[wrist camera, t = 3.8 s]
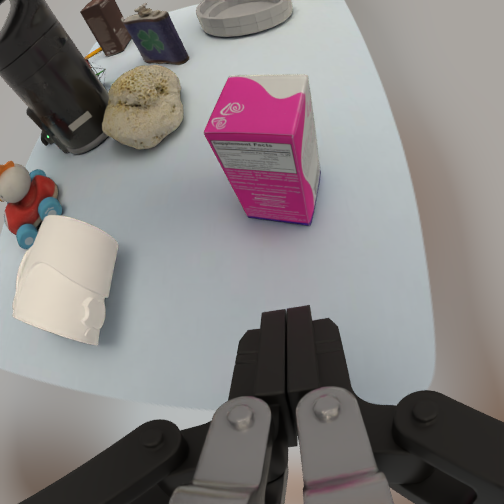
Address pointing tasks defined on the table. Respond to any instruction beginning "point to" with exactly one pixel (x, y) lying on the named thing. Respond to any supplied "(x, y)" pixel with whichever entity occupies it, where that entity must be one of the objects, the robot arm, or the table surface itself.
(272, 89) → the supplement box
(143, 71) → the decorative item
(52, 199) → the toy car
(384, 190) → the table surface
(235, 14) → the bowl
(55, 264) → the mug
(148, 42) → the flask
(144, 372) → the table surface
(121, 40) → the box
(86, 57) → the pencil
